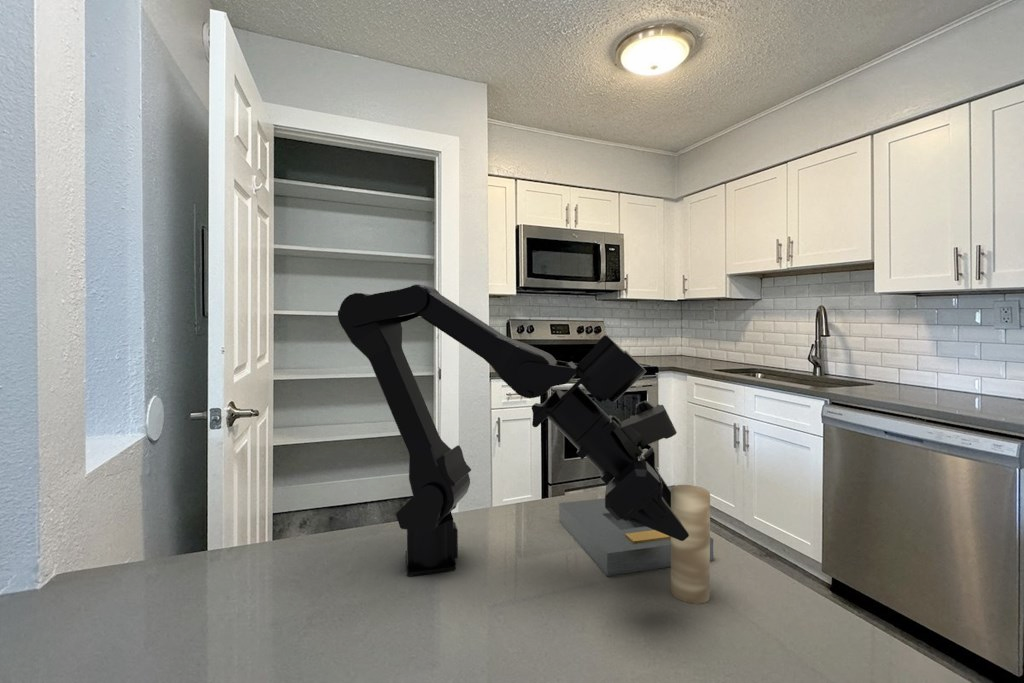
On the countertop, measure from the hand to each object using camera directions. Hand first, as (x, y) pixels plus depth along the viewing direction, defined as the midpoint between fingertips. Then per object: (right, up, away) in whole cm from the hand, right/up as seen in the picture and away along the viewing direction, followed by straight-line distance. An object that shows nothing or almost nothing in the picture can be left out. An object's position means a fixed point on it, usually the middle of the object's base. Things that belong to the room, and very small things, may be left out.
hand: (680, 521), depth 56 cm
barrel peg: (+1, -9, 0) cm, 9 cm away
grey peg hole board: (-3, -8, +15) cm, 17 cm away
